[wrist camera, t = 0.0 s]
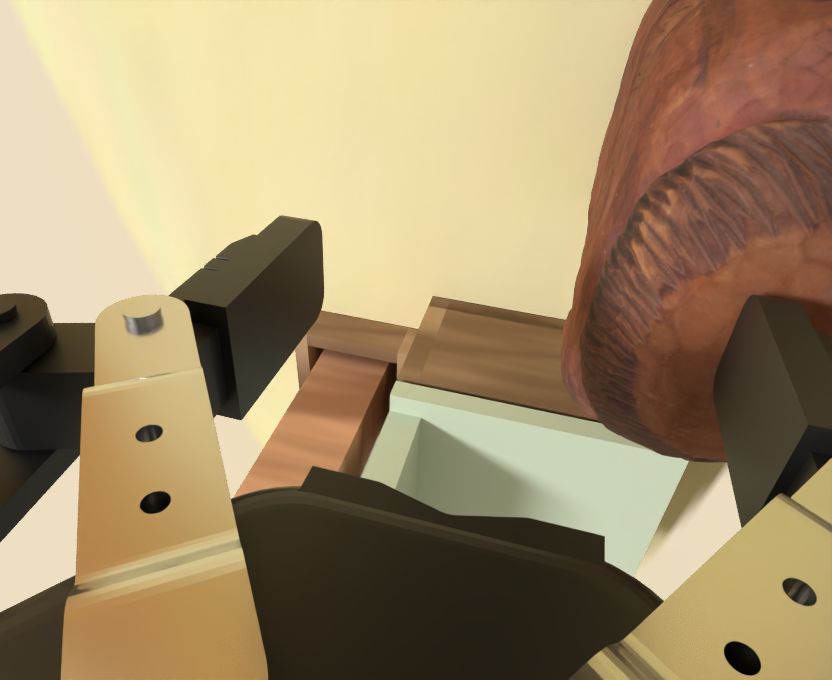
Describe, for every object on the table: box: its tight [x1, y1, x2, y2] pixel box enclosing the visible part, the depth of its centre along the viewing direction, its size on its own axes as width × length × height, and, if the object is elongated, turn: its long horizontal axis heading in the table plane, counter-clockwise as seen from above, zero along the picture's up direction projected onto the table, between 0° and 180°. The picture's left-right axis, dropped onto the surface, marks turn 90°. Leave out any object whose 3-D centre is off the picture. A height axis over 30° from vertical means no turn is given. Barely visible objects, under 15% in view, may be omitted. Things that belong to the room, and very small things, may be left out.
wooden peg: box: [234, 349, 397, 498], centre depth 33 cm, size 4×4×16 cm
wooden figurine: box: [560, 0, 832, 462], centre depth 18 cm, size 12×6×18 cm, turn 172°
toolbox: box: [295, 296, 601, 435], centre depth 35 cm, size 12×20×7 cm, turn 87°
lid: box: [362, 381, 689, 577], centre depth 28 cm, size 12×13×8 cm
